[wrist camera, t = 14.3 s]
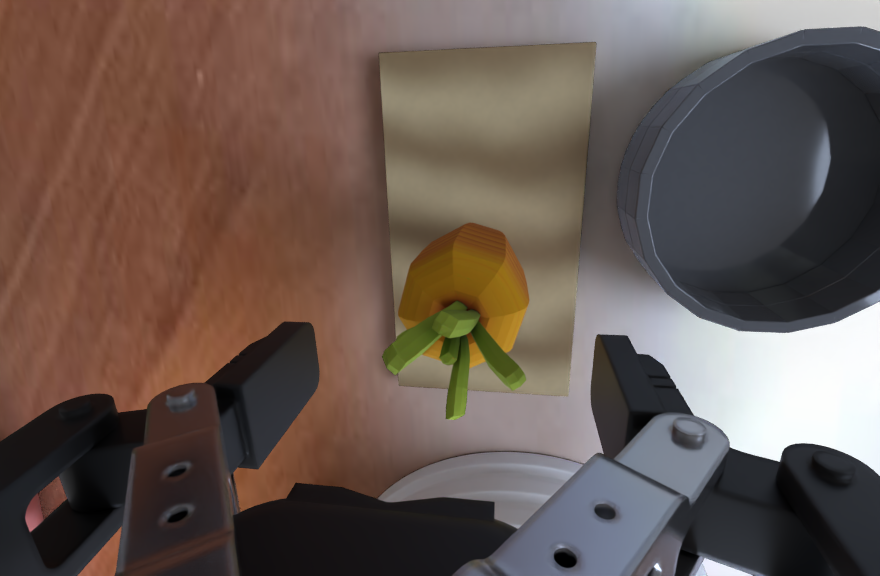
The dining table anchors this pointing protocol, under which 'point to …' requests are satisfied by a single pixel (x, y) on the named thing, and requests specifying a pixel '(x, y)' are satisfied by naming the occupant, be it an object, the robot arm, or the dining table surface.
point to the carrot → (463, 309)
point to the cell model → (34, 513)
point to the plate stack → (491, 483)
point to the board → (493, 182)
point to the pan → (764, 183)
